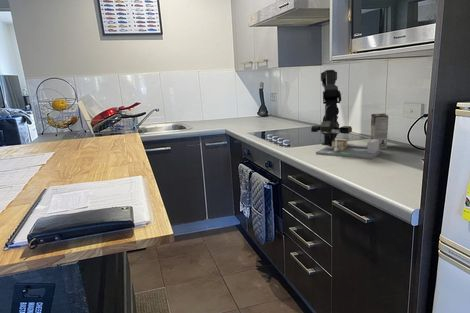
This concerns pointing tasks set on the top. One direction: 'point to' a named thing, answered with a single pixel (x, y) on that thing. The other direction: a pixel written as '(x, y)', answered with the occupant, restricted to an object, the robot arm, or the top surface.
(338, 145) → the carriage
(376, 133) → the coffee box
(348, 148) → the gauge base
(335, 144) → the needle
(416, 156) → the top surface
